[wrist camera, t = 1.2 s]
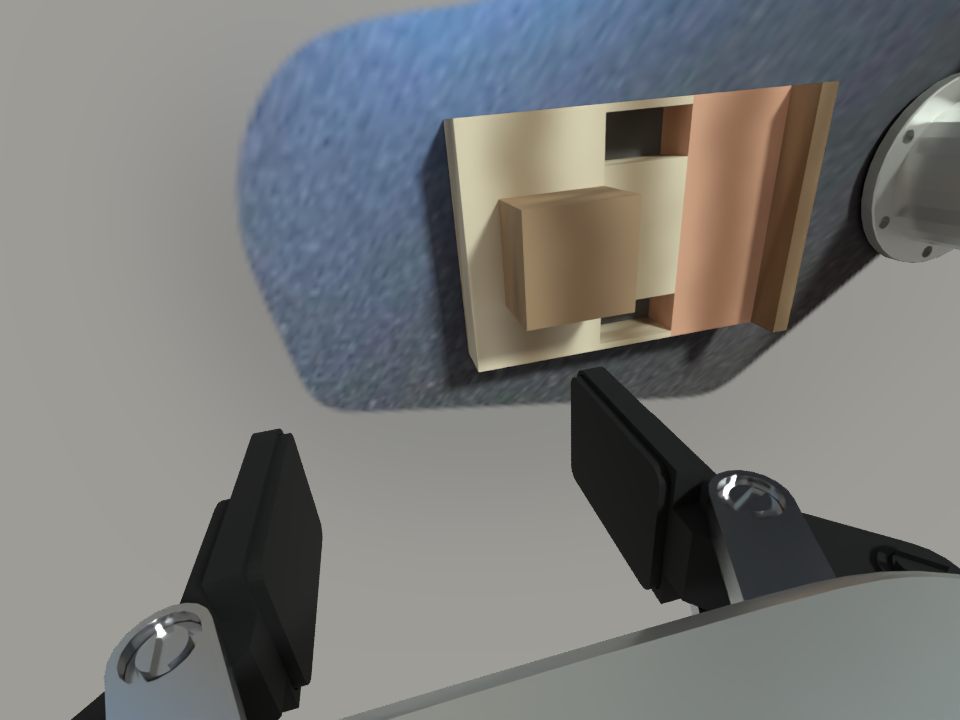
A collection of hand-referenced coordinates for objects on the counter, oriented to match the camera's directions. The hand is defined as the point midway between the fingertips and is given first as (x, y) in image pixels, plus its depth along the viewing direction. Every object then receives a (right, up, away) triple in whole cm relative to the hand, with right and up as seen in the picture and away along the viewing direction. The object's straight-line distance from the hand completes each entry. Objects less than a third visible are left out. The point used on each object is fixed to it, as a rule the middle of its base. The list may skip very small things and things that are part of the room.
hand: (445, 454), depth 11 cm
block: (+5, +9, +16) cm, 19 cm away
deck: (+9, +11, +20) cm, 24 cm away
